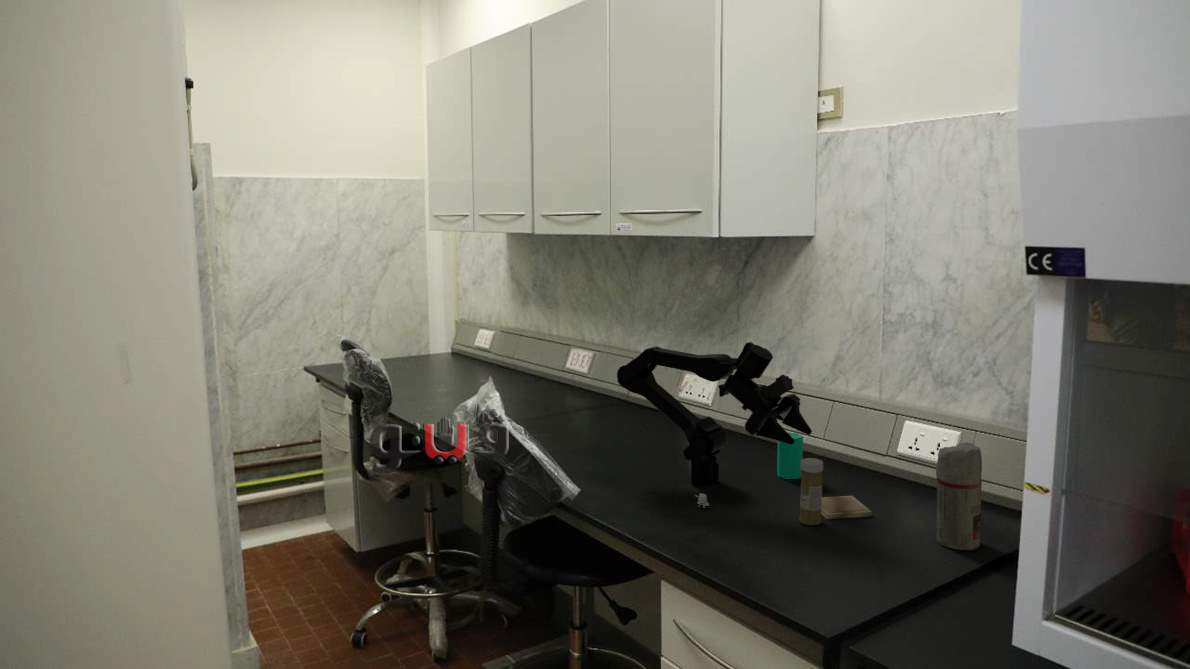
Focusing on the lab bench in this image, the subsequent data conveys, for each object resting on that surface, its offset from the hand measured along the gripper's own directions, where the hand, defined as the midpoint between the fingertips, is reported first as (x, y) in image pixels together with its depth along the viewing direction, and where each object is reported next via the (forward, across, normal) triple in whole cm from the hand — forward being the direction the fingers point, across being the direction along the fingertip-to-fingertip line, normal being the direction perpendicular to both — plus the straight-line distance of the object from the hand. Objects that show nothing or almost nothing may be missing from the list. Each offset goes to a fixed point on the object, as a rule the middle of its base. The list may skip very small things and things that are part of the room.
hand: (802, 438), depth 179 cm
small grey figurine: (-6, -16, +23) cm, 28 cm away
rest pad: (+15, +1, +8) cm, 17 cm away
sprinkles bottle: (+14, -9, +10) cm, 19 cm away
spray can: (+37, -3, -5) cm, 37 cm away
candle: (0, +16, +18) cm, 24 cm away
